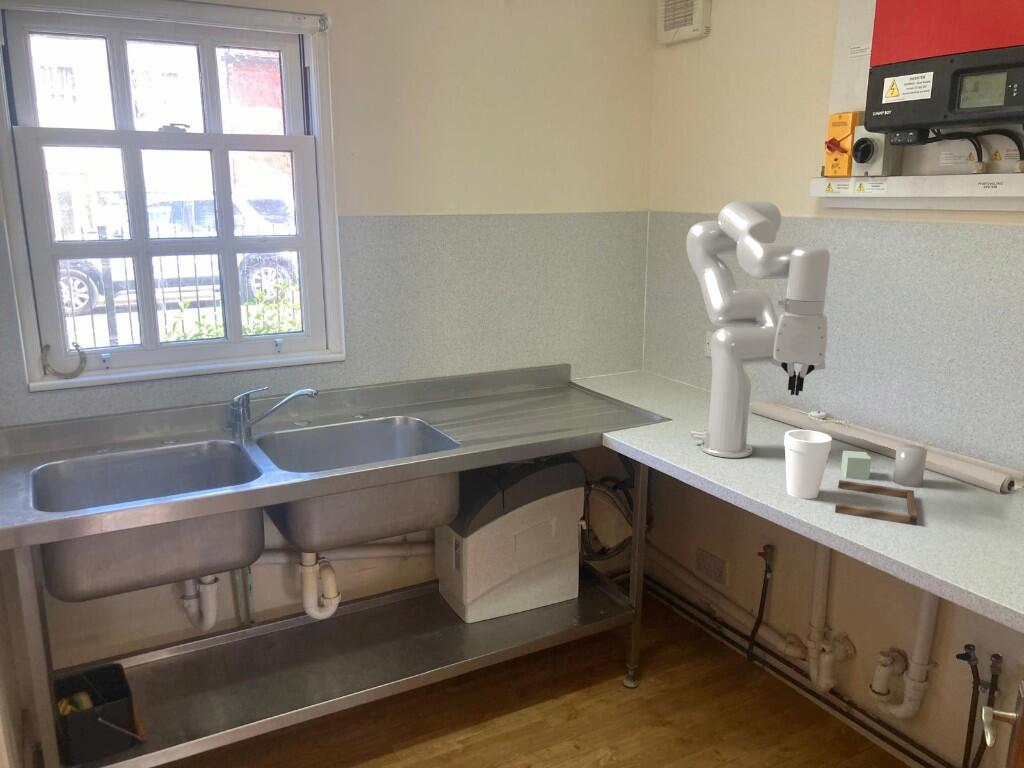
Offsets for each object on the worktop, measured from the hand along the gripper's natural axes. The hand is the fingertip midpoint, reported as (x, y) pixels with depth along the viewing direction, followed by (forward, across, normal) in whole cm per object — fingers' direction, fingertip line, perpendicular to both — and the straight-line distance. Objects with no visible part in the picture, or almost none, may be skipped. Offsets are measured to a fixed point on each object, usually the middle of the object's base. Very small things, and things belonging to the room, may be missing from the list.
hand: (794, 393), depth 165 cm
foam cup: (+22, +4, -1) cm, 22 cm away
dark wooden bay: (+22, +18, -2) cm, 28 cm away
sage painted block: (+22, +15, +17) cm, 31 cm away
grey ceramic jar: (+22, +26, +16) cm, 37 cm away
